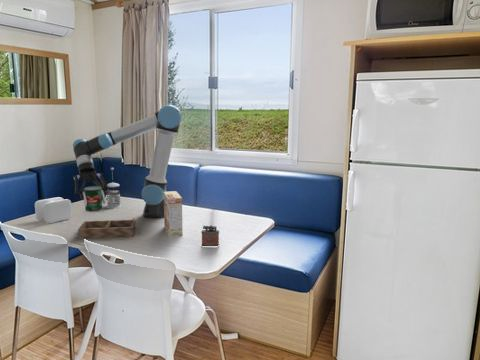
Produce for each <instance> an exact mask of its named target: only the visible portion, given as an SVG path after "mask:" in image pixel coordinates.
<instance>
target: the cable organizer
mask: <svg viewBox="0 0 480 360" xmlns="http://www.w3.org/2000/svg"><path fill="white" fill-rule="evenodd" d="M34 210H35V211H34V212H35V213H34V214H35V219H36V220H39V221H44V222H45V223H47V224H54V223H55V224H56V223H57V222H60V221H62V222H63V221H68V220H70V218H72V216H73V214H72V213H73V212H72V201H71V200H70V199H68V198H66V199H64V198H63V197H60V196H57V197H51V198H50V197H49V198H44V199H39V200H37V201H35V202H34Z"/></svg>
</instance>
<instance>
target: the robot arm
mask: <svg viewBox="0 0 480 360" xmlns="http://www.w3.org/2000/svg"><path fill="white" fill-rule="evenodd" d="M181 121H182V112H181V110H180V109H179V108H178V107H177V106H176V105H173V104H165V105H164V106H162V107H161V108H159V110H158V111H155V112H154V113H153V115H151V116H148V117H146V118H143V119H140V120H138V121H135V122H133V123H132V122H131V123H129V124H127V125H125V126H121V127H119V128H117V129H115V130H112V131H109V132H106V133H105V132H104V133H102V134H100V135H98V136H95V137H92V138H90V139H88V140H86V139H85V138H80V139H75V140H74V142H73V143H72V148H73V153H74V156H75V161H76V165H77V169H78V172H79V174H74V175H73V180H74V194H75V195H79V196H80V200H82V201H83V204H84V207H85V206H87V200H86V196H85V192H84V188H85V187H86V186H85V185H86V183H89V182H91V183H93V184H95V185H94V186H100V187H102V188H101V190H102V205H105V204H106V202H107V201H106V198H107V192H108V191H107V190H109V187H108V186H107V185H108V183H107V181H106V179H105V178H104V175H103V172H100V173H97V171H96V169H95V165H94V160H93V157H92V155H94V154H97V153H99V152H102V151H104V150H106V149H110V148H111V147H113V146H115V145H117V144H121V143H123V142H126V141H128V140H131V139H134V138H136V137H138V136H141V135H144V134H147V133H150V132H152V131H154V130H156V131H157V137H156V141H155V145H154V151H153V154H152V160H151V165H150V169H149V173H148V175H147V176H146V177H145V179H144V183H143V188H142V190H141V198H142V200H143V201H144V203H145V204H144V208H143V211H142V213H143V214H142V215H143V217H146V218H151V219H154V218H155V219H159V218H164V192H167V183H168V181H167V179H166V175H167V171H168V165H169V161H170V157H171V152H172V147H173V143H174V138H175V136H176V135H177V134H178V133H179V130H180V124H181ZM97 177H98V178H97ZM79 179H81V180H82V183H81V186H80V189H79ZM98 179H99V180H98Z"/></svg>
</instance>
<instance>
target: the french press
mask: <svg viewBox="0 0 480 360" xmlns="http://www.w3.org/2000/svg"><path fill="white" fill-rule="evenodd" d="M110 170H111V175H112V176H111V177H112V179H114V177H113V175H114V174H113V170H115V168H114V167H110ZM107 186H108V188H118V187H120V186H121V185H120V184H119V183H118V182H117V183H116V182H110V183H107ZM106 192H107V193H106V197H105V200H107V201H106V202H107V204H106V207H105V208H107V209H119V208H122V207H123V205H122V204H121V193H120V190H118V189H116V190H114V189H112V190H111V189H108V190H107V191H106Z"/></svg>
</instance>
